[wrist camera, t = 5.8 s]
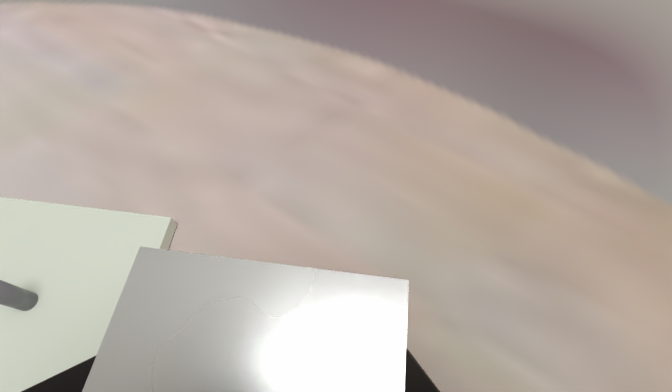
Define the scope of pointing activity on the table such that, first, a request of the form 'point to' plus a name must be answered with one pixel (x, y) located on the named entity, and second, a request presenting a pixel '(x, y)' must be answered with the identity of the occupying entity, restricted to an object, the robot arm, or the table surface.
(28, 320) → the pin tray
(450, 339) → the table surface
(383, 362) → the block
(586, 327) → the table surface
